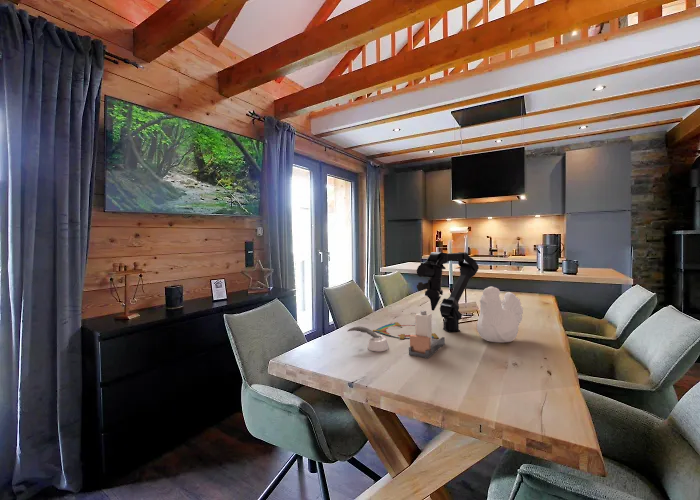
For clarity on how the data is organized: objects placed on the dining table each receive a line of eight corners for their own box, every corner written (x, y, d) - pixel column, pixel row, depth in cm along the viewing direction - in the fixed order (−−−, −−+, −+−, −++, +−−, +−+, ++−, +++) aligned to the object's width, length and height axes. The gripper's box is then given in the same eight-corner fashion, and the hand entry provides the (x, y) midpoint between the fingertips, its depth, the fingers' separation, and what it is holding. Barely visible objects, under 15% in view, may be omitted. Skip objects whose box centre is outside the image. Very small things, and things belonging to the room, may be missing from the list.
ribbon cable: (374, 340, 152) (438, 339, 151) (374, 338, 152) (438, 337, 151) (371, 324, 181) (425, 323, 180) (371, 322, 181) (425, 321, 180)
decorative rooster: (490, 349, 137) (490, 290, 135) (468, 337, 152) (468, 284, 151) (540, 343, 142) (541, 286, 141) (515, 333, 157) (515, 282, 156)
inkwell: (391, 350, 137) (391, 327, 137) (349, 354, 133) (349, 330, 133) (385, 343, 146) (384, 321, 146) (345, 347, 142) (345, 324, 142)
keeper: (420, 344, 138) (420, 309, 137) (431, 347, 135) (431, 310, 134) (415, 348, 134) (415, 311, 133) (427, 350, 131) (426, 313, 130)
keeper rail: (427, 341, 148) (427, 324, 148) (444, 344, 144) (444, 327, 143) (408, 354, 132) (408, 336, 132) (427, 358, 127) (427, 339, 127)
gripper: (422, 276, 168) (419, 306, 168) (415, 276, 151) (412, 310, 151) (444, 278, 164) (441, 309, 164) (439, 279, 147) (437, 313, 147)
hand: (432, 310), depth 156 cm, fingers closed
